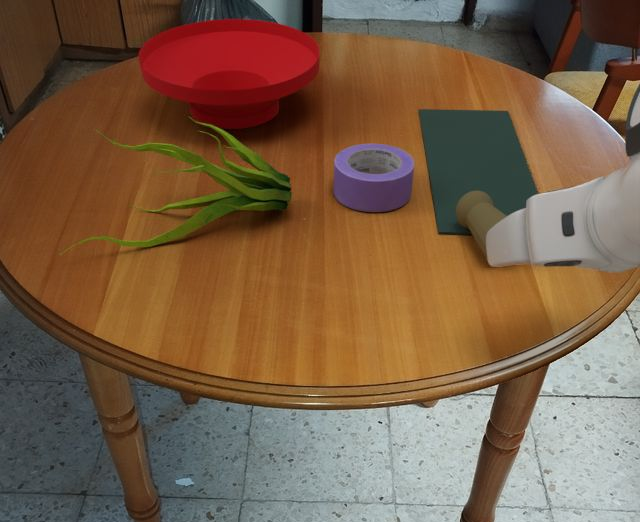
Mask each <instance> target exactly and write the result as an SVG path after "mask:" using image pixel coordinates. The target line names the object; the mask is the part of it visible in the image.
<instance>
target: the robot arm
mask: <svg viewBox="0 0 640 522" xmlns="http://www.w3.org/2000/svg"><path fill="white" fill-rule="evenodd" d="M624 137H625V138H624V143H625V145H624V146H625V147H624V148H625V154H626V157H628V158H629V160H628V162H627V163H626V165H624V166H622V167H620V168H618V169H616V170H614V171H613V172H611V173H609V174H608V175H606V176H604V175H601V176H598V177H596V178H594V179H591V180H589V181H587V182H584V183H581V184H577V185H573V186H569V187H564V188H559V189H554V190H549V191H545V192H541V193H538V194H536V195H534V196H532V197H530V198H529V199H528V200H527V201H526V208H524V209H521V210H518V211H516V212H514V213H512V214H510V215H508V216H507V217H505V218H504V219H502V220H501V221H500V222H498V223H497V224H496V225H494V226H493V227H492V228H491V229H490V230H489V231H488V232H487V234H486V252H487V259H488V261H487V263H488V265H489V266H490V267H493V268H501V267H508V266H509V267H510V266H520V265H521V266H522V265H532V266H533V267H546V268H549V267H573V268H574V267H576V268H580V269H581V268H582V269H586V270H597V271H598V272H599V271H600V272H603V273H611V274H613V273H614V274H615V273H616V274H618V273H622V272H626V271H630V270H632V269H636V268H638V267H640V83H639V84H638V86H637V88H636V90H635V92H634V94H633V97H632V99H631V101H630V105H629V107H628V111H627V115H626V121H625V136H624Z"/></svg>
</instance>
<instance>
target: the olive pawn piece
mask: <svg viewBox="0 0 640 522" xmlns="http://www.w3.org/2000/svg"><path fill="white" fill-rule="evenodd" d="M455 213H456V218H457V220H458V222H459V223H460V224H461V225H462V226H463V227H465V228H467V229H470V231H471V233H472V235H471V236H473V239H474V241H475V242H476V244H477V245H478V247H479V249H480V251H481V253H482V255H483V257H484V258H485V260H486V262H488V259H487V252H486V234H487V232H488V231H489V230H490V229H491V228H492V227H493V226H494V225H496V224H497V223H498V222H500V221H501V220H502V219H504V218H505V217H507V216H506V215H505V214H503V213H502V212H501V211H499V210H498V209H496V208H495V207H494V206H493V202H492V200H491V198H490V197H489V195H487V194H486V193H484V192H482V191H471V192H469V193H467V194H465V195H464V196H463V197H462V198H461V199H460V200H459V202H458V204H457V206H456V212H455Z"/></svg>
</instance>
